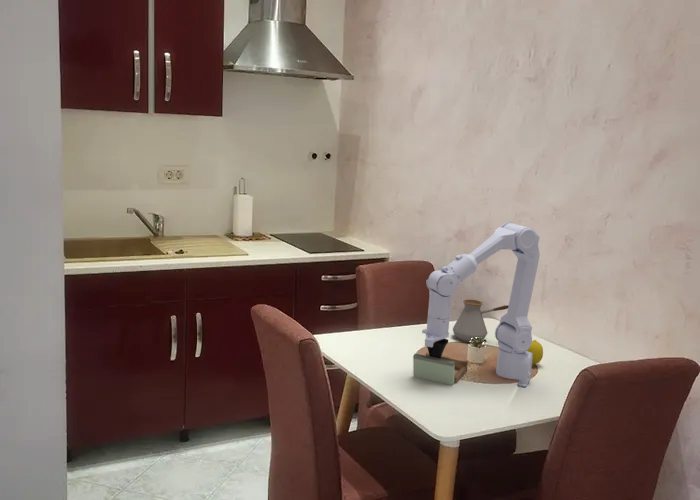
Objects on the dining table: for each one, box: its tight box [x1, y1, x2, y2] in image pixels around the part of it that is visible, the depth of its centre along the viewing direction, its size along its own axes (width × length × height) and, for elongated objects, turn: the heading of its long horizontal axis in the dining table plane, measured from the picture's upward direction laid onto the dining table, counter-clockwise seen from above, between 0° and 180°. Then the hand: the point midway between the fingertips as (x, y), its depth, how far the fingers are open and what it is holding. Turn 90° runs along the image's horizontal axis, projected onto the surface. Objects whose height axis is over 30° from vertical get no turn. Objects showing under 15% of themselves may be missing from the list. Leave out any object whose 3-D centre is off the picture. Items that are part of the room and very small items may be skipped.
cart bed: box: [425, 352, 469, 384], centre depth 184 cm, size 12×11×4 cm
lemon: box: [527, 339, 544, 366], centre depth 198 cm, size 6×6×8 cm
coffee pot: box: [452, 299, 509, 343], centre depth 217 cm, size 21×12×15 cm, turn 62°
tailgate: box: [412, 353, 455, 386], centre depth 176 cm, size 11×1×7 cm, turn 66°
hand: (434, 365), depth 176 cm, fingers closed, pressing on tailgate
